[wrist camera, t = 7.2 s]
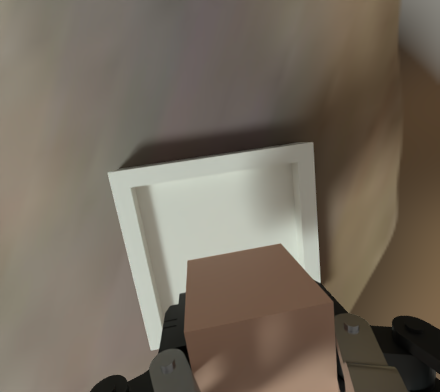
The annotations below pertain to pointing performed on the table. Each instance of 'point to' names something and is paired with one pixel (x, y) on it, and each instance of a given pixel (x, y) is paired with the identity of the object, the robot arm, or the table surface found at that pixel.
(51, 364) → the table surface
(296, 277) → the cube
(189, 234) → the tray
